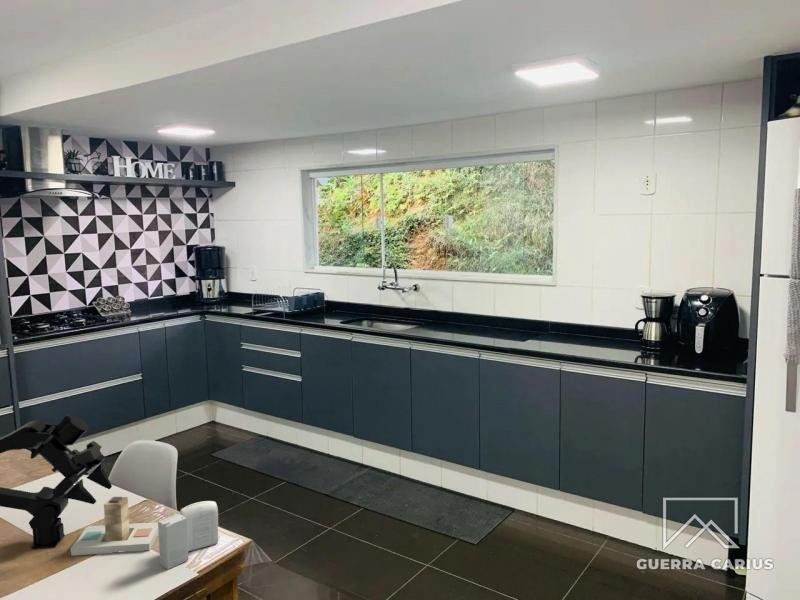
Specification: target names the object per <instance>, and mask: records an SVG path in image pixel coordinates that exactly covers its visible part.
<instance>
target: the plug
mask: <svg viewBox="0 0 800 600" xmlns="http://www.w3.org/2000/svg"><path fill="white" fill-rule="evenodd" d="M128 502H129V501H128V496H111V497H110V498H109V499H108V500H107V501H105V503H104V504H103V510H104V513H103V514H104V525H105V534H106V541H105V542H109V541H126V540H127V539H128V538H129V536H130V535H129V524H130V522H129V521H130V520H129V518H130V517H129V503H128Z"/></svg>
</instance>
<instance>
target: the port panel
mask: <svg viewBox="0 0 800 600" xmlns="http://www.w3.org/2000/svg"><path fill="white" fill-rule="evenodd" d="M158 536H159V532H158V521H157V522H145V523H144V522H142V523H141V522H140V523H138V522H137V523H129V538H128V539H127V540H126V541H109V542H106V534H105V524H103V525H89V526H88V525H87V527H86V528H85V529H84V531H83V532H82V533H81V534H80V536H79V537H78V538H77V540H76V541H75V542H74V543H73V545H72V546H71V547H70V556H85V555H87V556H88V555H101V553H104V554H111V553H110V552H119V551H135V552H141V551H140V550H151V548H152V546H153V545H154V542H155V541H156V539H157V537H158ZM119 553H120V552H119Z"/></svg>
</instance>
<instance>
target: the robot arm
mask: <svg viewBox="0 0 800 600" xmlns="http://www.w3.org/2000/svg"><path fill="white" fill-rule="evenodd" d="M89 428H90V427H89V425H88V423H87V422H86V421H85V420H84V419H83V418H79V417H78V416H73V415H72V414H70V413H68V414H67V415H65V417H63V418H62V420H61V421H60V422H59V423H58V424H53V423H44V422H42V421H40V420H38V419H37V420H32V421H29V422H27V423H25V424H24V425H22V426H20V427H18V428H17V429H15V430H14V431H12V432H9V433H8V434H6V435H3V436H1V437H0V454H3V453H6V452H9V451H16V450H17V451H19V450H25V449H30V451H31V454H30V459H31V460H32V459H35V458H37V457H39V456H41V457H42V458H43V459H44V460H45V461H46V462H47V463H48V464H50V465H51V467H52V469H51V471H52V472H53V473H56V472H57V471H58V473H60V474H61V475H62V476H63V477H64V478H63V479H62V480H61V481H59V483H58V484H57V485H56V486H55V487H54V488H52V487H49V486H43V487H42V489H40V490H39V491H37V492H32V491H31V492H30V491H24V490H18V489H13V488H9V487H8V488H7V487H2V486H0V507H3V508H9V509H14V510H21V511H25V512H27V513H28V514H30V515H32V518H31V519H30V520H29V522H28V525H29V527H30V529H31V530H32V541H33V542H32V544H31V545H30V549H44V548H45V549H46V548H56V547H57V546H58V545H59V543H60V542H61V541H62V540H63V539H64V537H65V535H66V534H65V533H64V532H65V530H64V523H63V522H62V517H60V516H61V514H62V513H63V512H64V510H65V509H66V507H67V506H68V505H69V500H75V501H77V502H78V501H79V502H82V503H87V504H92V505H94V504H96V503H97V500H96V498H95V497H94V496H93V495H92V494H91V493H90V492H89V490H87V489H86V487H84V480H83V478H82V477H83V476H86V479H87V480H89V481H92V482H93V483H95V484H97V485H99V486H101V487H102V488H105V489H108V490H110V489H112V487H113V485H112V484H111V482H110V479H109V477H108V476H107V473H106V471H105V469H104V467H105V462H106V460H105V459H106V456H104V455H103V454H102V452H101V448H102V445H100V444H99V443H98V442H97V441H94V440H93V441H91V442H89V443H88V444H86V448H85V449H83V450H81V451H80V450H78V449H76V448H74V449H72V450H71V449H70V448H69V447H68V446H73V445H74V444H75V443H76V442H78V440H79V439H80V438H81V437H82V436H83V435H84V434H85V433H87V431H88V430H89ZM51 436H52V437H51ZM50 437H51V438H50ZM49 438H50V439H49ZM39 443H40V444H39ZM38 444H39V445H38ZM36 445H38V446H36ZM80 478H81V479H80Z"/></svg>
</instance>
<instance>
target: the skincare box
mask: <svg viewBox="0 0 800 600" xmlns="http://www.w3.org/2000/svg"><path fill="white" fill-rule="evenodd" d="M157 522H158V532H159V533H158V545H159V546H158V548H159V549H158V550H159V562H160V563H159V564H160V565H161V566H162V567H163V568H165V569H167V570H169V569H172V568H174V567H176V566H179V565H182V564H183V563H185V562H186V561H187V562H188V561H189V558H190V557H189V551H188V535H187V518H186V517H184V516H182V515H181V514H180V513H176V514H174V515H172V516H168V517H166V518H163V519H161V520H158V521H157Z"/></svg>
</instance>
